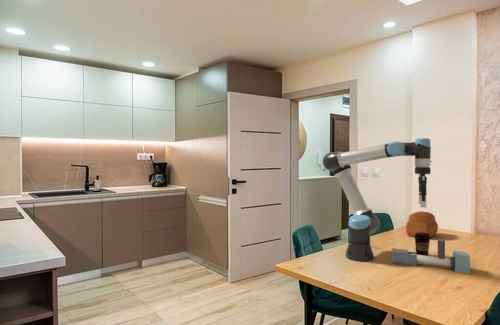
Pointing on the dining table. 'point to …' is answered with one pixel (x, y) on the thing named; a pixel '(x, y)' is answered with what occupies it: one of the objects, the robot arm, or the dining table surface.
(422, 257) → the tube
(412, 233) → the bread
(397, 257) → the sleeve
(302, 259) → the dining table surface
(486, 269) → the dining table surface
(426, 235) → the coffee cup
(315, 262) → the dining table surface
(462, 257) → the socket
